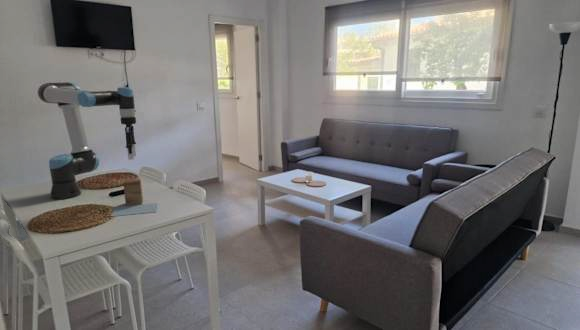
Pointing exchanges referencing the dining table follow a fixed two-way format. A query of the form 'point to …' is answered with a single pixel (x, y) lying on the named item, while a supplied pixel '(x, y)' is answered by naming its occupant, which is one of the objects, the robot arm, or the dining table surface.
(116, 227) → the dining table surface
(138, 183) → the walnut block
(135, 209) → the mat
